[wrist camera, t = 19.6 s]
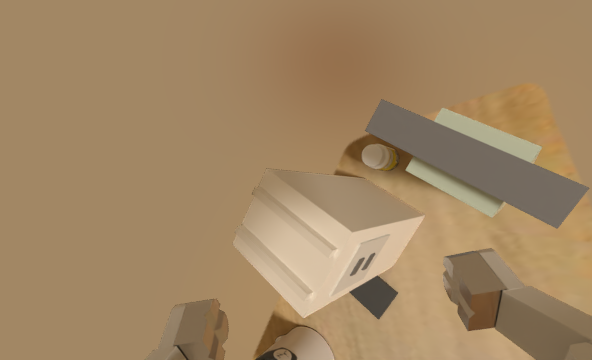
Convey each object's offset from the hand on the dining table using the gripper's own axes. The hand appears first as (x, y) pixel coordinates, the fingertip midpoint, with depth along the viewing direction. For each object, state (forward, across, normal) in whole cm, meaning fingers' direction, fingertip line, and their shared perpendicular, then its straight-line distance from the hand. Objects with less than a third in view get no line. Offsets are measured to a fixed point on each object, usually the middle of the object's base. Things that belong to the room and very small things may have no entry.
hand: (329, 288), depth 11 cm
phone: (+37, -4, +44) cm, 58 cm away
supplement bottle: (+47, -14, +23) cm, 54 cm away
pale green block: (+36, -28, +23) cm, 51 cm away
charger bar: (+22, -16, +9) cm, 28 cm away
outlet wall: (+41, -10, +33) cm, 54 cm away
